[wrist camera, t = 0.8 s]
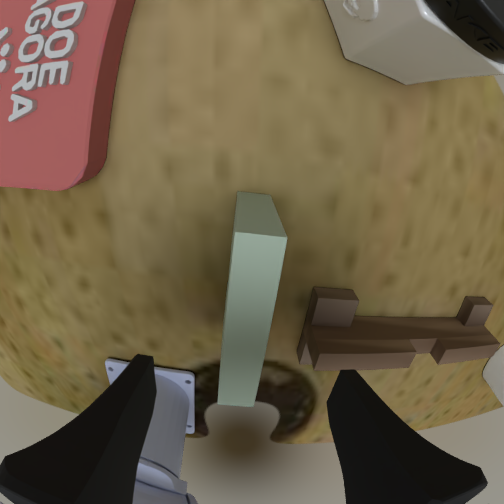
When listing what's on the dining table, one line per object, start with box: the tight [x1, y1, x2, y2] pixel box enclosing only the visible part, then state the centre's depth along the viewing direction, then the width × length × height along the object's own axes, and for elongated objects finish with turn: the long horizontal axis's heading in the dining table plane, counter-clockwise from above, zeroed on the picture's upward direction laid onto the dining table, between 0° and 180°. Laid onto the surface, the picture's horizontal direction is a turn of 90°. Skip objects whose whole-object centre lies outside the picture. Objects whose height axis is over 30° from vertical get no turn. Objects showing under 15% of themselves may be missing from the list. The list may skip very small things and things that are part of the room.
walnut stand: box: [297, 287, 500, 371], centre depth 21 cm, size 6×18×4 cm, turn 83°
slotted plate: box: [218, 191, 287, 407], centre depth 17 cm, size 10×2×8 cm, turn 173°
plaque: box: [0, 0, 135, 191], centre depth 13 cm, size 18×4×15 cm
